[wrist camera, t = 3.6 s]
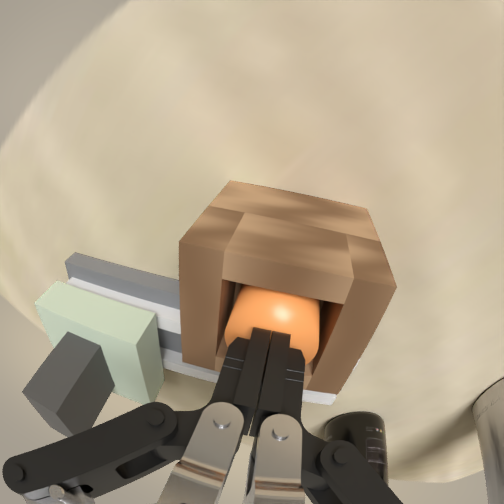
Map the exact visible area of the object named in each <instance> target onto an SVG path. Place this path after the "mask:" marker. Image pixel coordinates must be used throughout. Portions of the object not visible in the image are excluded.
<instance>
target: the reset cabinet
mask: <svg viewBox="0 0 504 504" xmlns="http://www.w3.org/2000/svg"><path fill="white" fill-rule="evenodd" d="M242 284H247V285H251V286H256V287H261V288H265V289H270V290H275V291H280V292H285V293H289V294H294V295H299V296H304V297H309V298H314V299H319V300H320V317H319V347H318V351H317V353H316V355H315V357H314V358H313V359H312V360H311V361H310V362H309V363H308V364H306V365H305V372H304V382H303V383H304V385H303V390H309V391H316V392H322V393H330V394H338V393H339V391H340V390H341V388H342V387H343V385H344V384H345V382H346V380H347V379H348V377H349V375H350V374H351V372H352V371H353V369H354V367H355V365H356V364H357V362H358V360H359V359H360V357H361V355H362V353H363V352H364V350H365V348H366V346H367V345H368V343H369V341H370V339H371V337H372V336H373V334H374V332H375V330H376V328H377V326H378V324H379V322H380V320H381V318H382V317H383V315H384V313H385V311H386V309H387V307H388V305H389V302H390V300H391V298H392V296H393V294H394V292H395V290H396V288H397V286H396V283H395V280H394V277H393V274H392V271H391V269H390V266H389V263H388V260H387V258H386V255H385V252H384V250H383V247H382V244H381V242H380V239H379V237H378V234H377V232H376V229H375V227H374V224H373V222H372V219H371V217H370V215H369V212H368V210H367V209H365V208H361V207H357V206H353V205H349V204H345V203H340V202H336V201H332V200H327V199H323V198H318V197H313V196H309V195H304V194H299V193H294V192H289V191H284V190H279V189H274V188H269V187H264V186H258V185H253V184H247V183H242V182H236V181H229V183H228V184H227V185H226V186H225V187H224V188H223V190H222V191H221V192H220V193H219V194H218V195H217V196H216V198H215V199H214V200H213V201H212V202H211V204H210V205H209V206H208V207H207V208H206V209H205V211H204V212H203V213H202V214H201V215H200V217H199V218H198V219H197V220H196V221H195V223H194V224H193V225H192V226H191V228H190V229H189V230H188V231H187V232H186V234H185V235H184V236H183V237H182V239H181V240H180V241H179V295H180V325H181V345H182V362H184V363H188V364H191V365H195V366H198V367H202V368H206V369H209V370H213V371H217V372H220V371H221V368H222V366H223V362H224V359H225V356H226V353H227V350H228V347H227V345H226V342H225V329H226V326H227V324H228V321H229V318H230V315H231V313H232V310H233V307H234V304H235V301H236V299H237V296H238V293H239V290H240V288H241V285H242Z"/></svg>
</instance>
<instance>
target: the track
mask: <svg viewBox="0 0 504 504" xmlns="http://www.w3.org/2000/svg"><path fill="white" fill-rule="evenodd" d="M65 265H66V269H67V273H68V277H69V281H68V282H67V283H66V284H68V285H71V286H74V287H77V288H79V289H82V290H85V291H88V292H91V293H94V294H97V295H100V296H102V297H105V298H108V299H111V300H115V301H118V302H121V303H124V304H127V305H130V306H133V307H137V308H140V309H143V310H146V311H150V312H153V313H156V322H157V330H158V338H159V346H160V353H161V360H162V367H163V368H165V369H168V370H172V371H175V372H178V373H181V374H185V375H188V376H192V377H195V378H199V379H202V380H206V381H210V382H214V383H217V380H218V377H219V374H220V372H217V371H213V370H209V369H206V368H202V367H198V366H195V365H191V364H188V363H184V362H182V345H181V325H180V295H179V280H175V279H171V278H167V277H163V276H160V275H156V274H152V273H148V272H144V271H140V270H136V269H133V268H129V267H125V266H122V265H118V264H114V263H111V262H107V261H103V260H100V259H96V258H93V257H89V256H86V255H82V254H79V253H74V254H73V255H72V256H70V257H69V258H68V259H67V260H66V261H65ZM359 360H360V359H359ZM359 360H358V362H359ZM358 362H357V364H358ZM357 364H356V365H355V367H356V366H357ZM355 367H354V369H355ZM354 369H353V370H354ZM336 395H337V394H330V393H322V392H316V391H309V390H303V396H302V401H305V402H312V403H319V404H326V405H332V403H333V402H334V400H335V399H336Z"/></svg>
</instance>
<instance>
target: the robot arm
mask: <svg viewBox="0 0 504 504" xmlns="http://www.w3.org/2000/svg"><path fill="white" fill-rule="evenodd" d="M270 335H271V330H266V329H261V328H257V327H253V330H252V334H251V338H250V339H245V338H241V337H237V338H236V339H235V340H234V341H233V342H232V343H231V344H230V345H229V347H228V350H227V353H226V356H225V359H224V362H223V366H222V368H221V371H220V374H219V377H218V380H217V384H216V387H215V390H214V393H213V396H212V398H211V400H210V402H209V403H208V404H207V405H206V406H204V407H203V408H201V409H199V410H195V411H173V410H172V408H170V407H169V406H168V405H166V404H163V403H160V402H150V403H147V404H144V405H142V406H140V407H138V408H136V409H134V410H132V411H130V412H127V413H125V414H123V415H121V416H119V417H116V418H114V419H112V420H109V421H107V422H105V423H103V424H100V425H98V426H96V427H93V428H90V429H88V430H86V431H83V432H81V433H78V434H76V435H73V436H71V437H68V438H66V439H63V440H60V441H58V442H55V443H52V444H49V445H46V446H44V447H41V448H38V449H35V450H32V451H29V452H26V453H23V454H20V455H17V456H14V457H11V458H9V459H8V460H7V461H6V462H5V464H4V466H3V478H4V481H5V483H6V484H7V486H8V487H9V488H10V489H11V490H13V491H14V492H16V493H18V494H20V495H22V496H23V497H24V499H25V501H26V503H27V504H95V502H94V499H93V498H96V497H98V496H101V495H103V494H106V493H108V492H110V491H113V490H115V489H117V488H120V487H122V486H124V485H127V484H129V483H131V482H133V481H135V480H137V479H139V478H141V477H144V476H146V475H148V474H150V473H152V472H154V471H156V470H158V469H160V468H162V467H164V466H166V465H167V464H169V463H171V462H173V461H175V460H180V461H179V462H178V463H177V464H176V465H175V467H174V468H173V470H172V472H171V474H170V476H169V478H168V481H167V483H166V485H165V487H164V489H163V491H162V494H161V495H160V498H159V500H158V502H157V504H218V501H219V498H220V496H221V493H222V490H223V487H224V484H225V482H226V479H227V476H228V473H229V471H230V468H231V465H232V462H233V459H234V456H235V454H236V452H237V451H238V449H239V446H240V443H241V439H242V436H243V435H248V431H249V428H250V425H251V422H252V425H251V430H250V434H249V436H253V437H255V438H254V443H253V447H252V451H251V453H250V459H249V467H248V474H247V481H246V488H245V495H244V500H243V504H305V493H306V495H307V496H308V497H309V499H310V500H311V502H312V503H313V504H403V503H402V502H401V501H400V500H399V498H398V497H397V496H396V495H395V494H394V493H393V491H392V490H391V489H390V488H389V487H388V486H387V484H386V483H385V482H384V481H383V480H382V478H381V477H380V476H379V475H378V474H377V472H376V471H375V470H374V469H373V468H372V466H371V465H370V464H369V463H368V462H367V460H366V459H365V458H364V457H363V455H362V454H361V453H360V452H359V451H358V449H357V448H356V447H355V446H354V445H353V444H351V443H350V442H347V441H344V440H335V441H332V442H330V443H329V442H327V441H324V440H322V439H320V438H317V437H315V436H313V435H311V434H310V433H309V432H308V431H307V430H306V429H305V428H304V426H303V424H302V422H301V407H302V396H303V385H304V383H303V382H304V372H305V361H306V360H305V358H304V356H303V353H302V351H301V350H300V349H295V348H290V339H291V334H287V333H281V332H276V331H273V332H272V336H271V340H270ZM269 340H270V344H269ZM268 345H269V348H268ZM267 350H268V352H267ZM266 355H267V356H266ZM472 413H473V416H474V421H475V425H476V429H477V434H478V439H479V444H480V449H481V454H482V460H483V466H484V471H485V479H486V487H487V495H488V504H504V379H502V380H500V381H499V382H497V383H496V384H495V385H493V386H492V387H491V388H489V389H488V390H487V391H486V392H485V393H484V394H482V395H481V396H480V398H479V399H478V400H477V401H476V402H475V404H474V406H473V409H472ZM253 415H254V416H253ZM252 418H253V421H252Z"/></svg>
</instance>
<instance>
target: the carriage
mask: <svg viewBox="0 0 504 504" xmlns="http://www.w3.org/2000/svg"><path fill="white" fill-rule="evenodd" d="M34 304H35V306H36V309H37V311H38V314H39V316H40V319H41V321H42V323H43V326H44V328H45V330H46V333H47V335H48V337H49V339H50V342H51V344H52V346H53V348H54V349H53V351H52V352H51V353H50V355H49V356H48V357H47V358H46V360H45V361H44V362H43V364H42V365H41V366H40V368H39V369H38V370H37V372H36V373H35V374H34V376H33V377H32V379H31V380H30V381H29V383H28V384H27V386H26V387H25V388H24V390H23V391H22V392H23V394H24V395H25V396H26V397H27V399H28V400H29V401H30V403H31V404H32V405H33V407H34V408H35V409H36V410H37V411H38V413H39V414H40V415H41V416H42V417H43V419H44V420H45V421H46V422H47V423H48V424H49V426H50V427H52V428H53V429H55V430H57V431H58V432H60V433H61V434H63V435H65V436H67V437H71V436H73V435H76V434H78V433H81V432H83V431H86V430H88V429H90V428H92V426H93V424H94V422H95V421H96V419H97V417H98V415H99V413H100V412H101V410H102V408H103V406H104V404H105V402H106V401H107V399H108V397H109V396H110V394H111V392H113V393H116V394H118V395H121V396H123V397H125V398H128V399H130V400H133V401H136V402H138V403H141V404H143V405H144V404H147V403H150V402H155V399H156V397H157V395H158V393H159V391H160V389H161V387H162V384H163V382H164V380H165V379H164V373H163V367H162V360H161V353H160V346H159V338H158V330H157V322H156V313H153V312H150V311H146V310H143V309H140V308H137V307H133V306H130V305H127V304H124V303H121V302H118V301H115V300H111V299H108V298H105V297H102V296H100V295H97V294H94V293H91V292H88V291H85V290H82V289H79V288H77V287H74V286H71V285H68V284H66V283H63V282H60V281H58V280H57V281H56V282H55V283H54V284H53V285H52V286H51V287H50V288H49V289H48V290H47V291H46V292H45V293H44V294H43V295H42V296H41V297H40V298H39V299H38V300H37V301H36V302H35V303H34Z"/></svg>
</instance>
